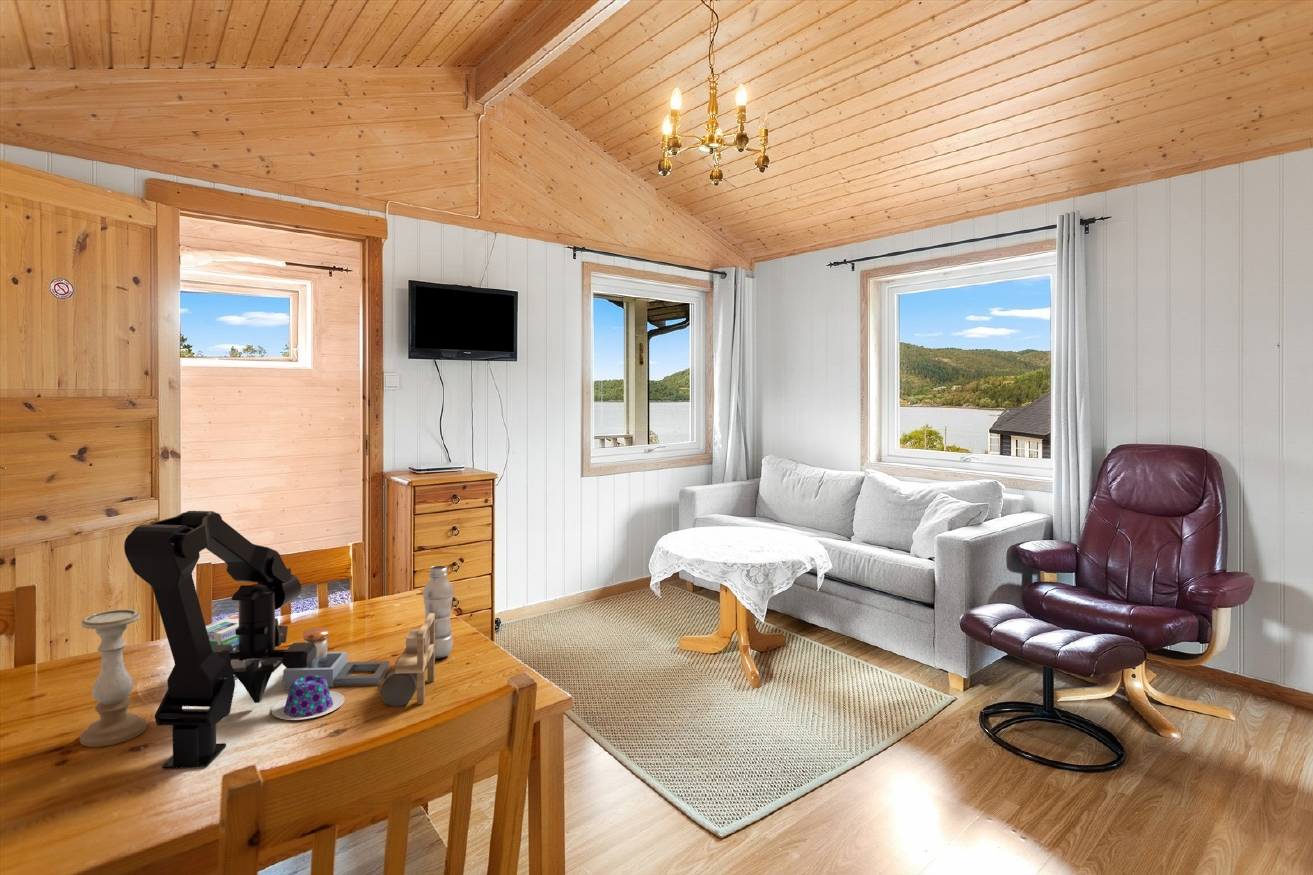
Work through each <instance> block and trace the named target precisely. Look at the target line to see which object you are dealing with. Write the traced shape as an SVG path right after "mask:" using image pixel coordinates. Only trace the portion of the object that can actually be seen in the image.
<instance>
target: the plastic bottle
mask: <svg viewBox="0 0 1313 875" xmlns="http://www.w3.org/2000/svg"><path fill="white" fill-rule="evenodd" d="M428 577H429V578H430V579H429V580H428V581H427V583H426V584H425V585H424V588H423V591H422V597H423V605H424V616H425V618H424V620H426V619H427V617H428V615H429V614H430V613H435V649H434V650H435V660H436V659H441V658H446V657H448V656H449V655H450V654H451V653H452V651H453V647H454V640H453V635H452V626H451V625H452V623H451V622H452V621H451V619H452V618H451V615H452V603H453V599H454V587H453V585H452V583H451V582H450V580H449V579H448V578H447V577H448V567H447V566H446V565H435V566H434V565H433V566H431V567H429V574H428Z"/></svg>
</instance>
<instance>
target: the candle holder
mask: <svg viewBox="0 0 1313 875" xmlns="http://www.w3.org/2000/svg"><path fill="white" fill-rule="evenodd" d="M140 618H141V613H140V611H139V610H136V609H131V608H130V609H129V608H121V609H120V608H118V609H112V610H111V609H110V610H105V611H101V612H96V613H92V614H90V615H87V616H86V617H84V618H83V619H82V620H81V624H80V625H81V627H82V628H84V629H88V630H89V629H90V630H94V632H95V634H96V635H98V636H99V637H100V639H101V642H100V643H99V645H98V647H97V648H96V651H98V652H100V653H101V664H100V665H101V667H100V670H99V674H98V676H97V678H96V679H95V681H94V683H93V686H92V689H91V695H92V698H93V699H94V700H95V701H97V702H98V704H97V705H95V707H94V711H95V712H97V714H98V715H99V717H100V718H98V719H97V720H95V721H93V722H91V723H90V724H89V726H88V727H87V728H86V729H84V730H83V731H82V732H81V734H80V735H79V742H80V744H81V745H82V746H84V747H89V748H100V747H108V746H115V745H117V744H121V743H123V742H127V741H129V740H132V739H134V738H136V737H139V735H141V734H143V733H144V731H146V729H147V726H148V724H147V719H145V718H144V717H141V716H139V715H138V714H136V713H132V712H128V709H129V707H130V705H131V704H132V699H131V698H130V697H129V695H130V694H131V693H132V691H133V689H134V681H133V678H132V676H131V675H130V673H129V672H128V670H127V669H126V666H125V663H124V655H123V653H124V652H123V650H124V649H123V648H125V647H126V646H127V642H126V641H125V640H124V639H123V634H124V632H125V631H126V630H127V629H128V625H130V624H132V623H134V622H136V621H138V620H139V619H140Z"/></svg>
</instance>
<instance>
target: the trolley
mask: <svg viewBox="0 0 1313 875" xmlns="http://www.w3.org/2000/svg"><path fill="white" fill-rule="evenodd" d="M424 620H425V619H424ZM434 649H435V613H430V614H429V615H428V617H427V619H426V620H425V621H424V622H423V624H422V625H421V627H420V629H411V630H410V631H409V633H408V634H407V637H406V638H405V648H404V650H403V652H402V653H401V654H400V655H399V657H398V658H397V660H396V661H395V663H394V665H393V671H391V672H390V673H389V674H388V675H387V676H385V677H386V678H384V680H383V682H382V683H381V686H380V691H379V692H380V697H381V699H382V700H383V701H384V703H386V704H387V705H389V706H392V707H402V706H405V705H406V704H408V703H409V702H410V701H411V700H413V699H412V698H413V696H414V695H415V692H416V705H425V701H426V700H425V699H426V681H427V683H434V682H435V680H436V679H435V678H436V676H435V675H436V671H435V670H436V667H435V666H436V662H435V661H436V659H435V650H434ZM426 670H427V674H426ZM426 675H427V676H426ZM426 678H427V679H426Z"/></svg>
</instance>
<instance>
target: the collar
mask: <svg viewBox="0 0 1313 875" xmlns="http://www.w3.org/2000/svg"><path fill="white" fill-rule="evenodd" d="M390 669H391V661H390V660H380V661H379V660H376V661H375V660H374V661H370V660H369V661H348V663H347V664H346V665H345V666H344V667H343V669H342V670H341V671H340V672H339V674H338V675H337V676H336V677H335V679H334V686H333V687H347V686H348V687H351V686H352V687H355V686H356V687H357V686H379V685H380V684H382V681H384V679H385V677H386V675H387V674H388V671H389V670H390ZM353 672H355V673H356V672H360V673H361V672H374V674H353Z"/></svg>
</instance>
